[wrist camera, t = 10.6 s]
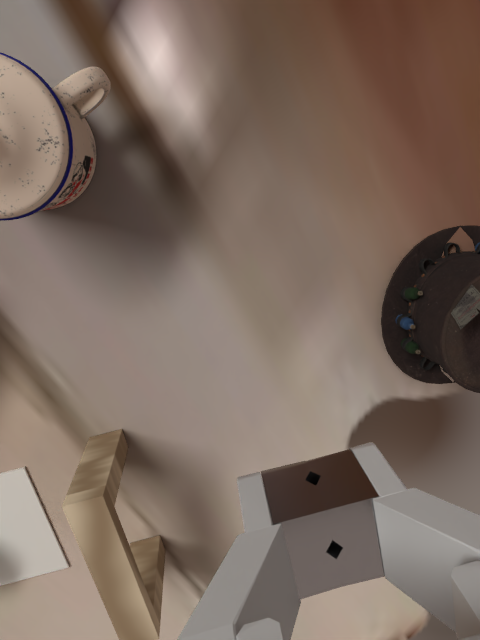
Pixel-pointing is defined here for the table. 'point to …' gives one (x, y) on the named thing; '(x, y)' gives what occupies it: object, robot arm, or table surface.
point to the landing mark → (25, 531)
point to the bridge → (115, 542)
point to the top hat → (436, 312)
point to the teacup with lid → (45, 137)
